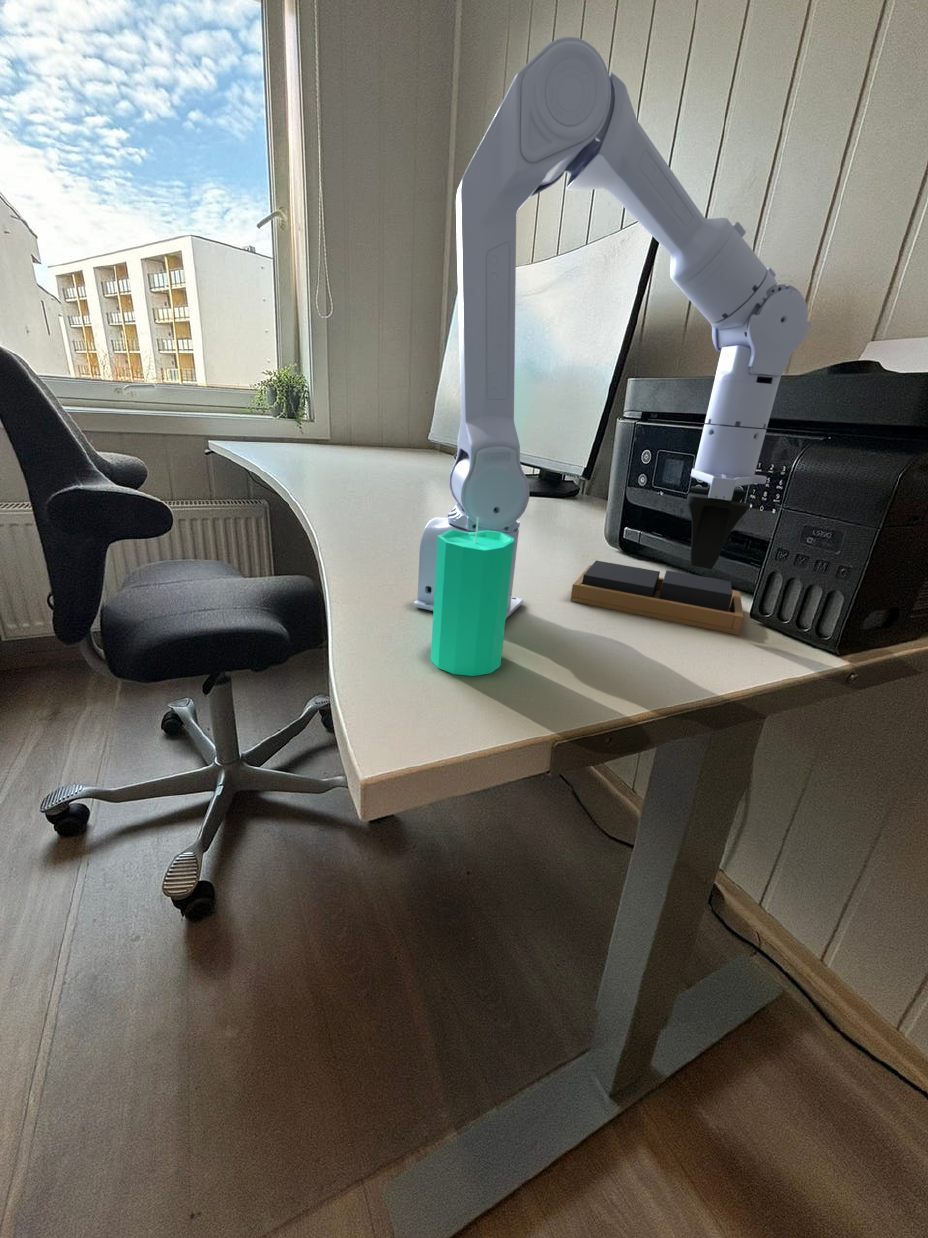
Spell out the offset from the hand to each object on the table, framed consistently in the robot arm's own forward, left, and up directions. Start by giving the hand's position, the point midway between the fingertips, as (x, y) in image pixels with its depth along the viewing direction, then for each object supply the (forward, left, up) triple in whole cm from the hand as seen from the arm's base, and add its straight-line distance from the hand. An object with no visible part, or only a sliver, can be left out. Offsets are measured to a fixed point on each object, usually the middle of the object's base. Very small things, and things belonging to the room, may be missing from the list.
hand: (702, 558), depth 59 cm
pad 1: (-8, 0, -6) cm, 10 cm away
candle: (-17, -25, -6) cm, 31 cm away
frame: (-4, 0, -6) cm, 7 cm away
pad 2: (0, 0, -6) cm, 6 cm away
